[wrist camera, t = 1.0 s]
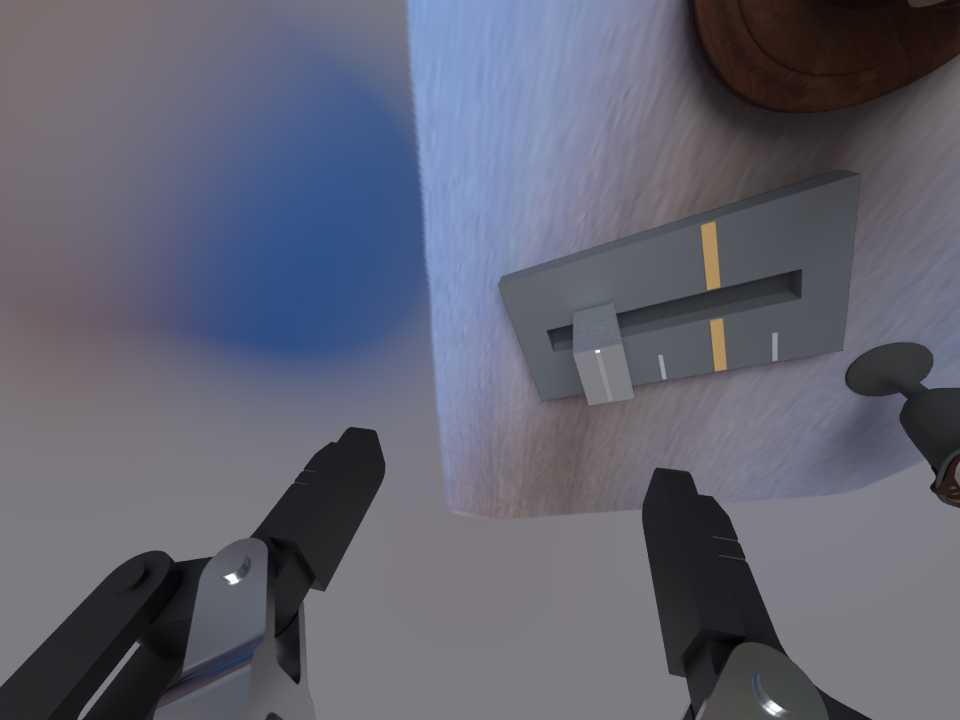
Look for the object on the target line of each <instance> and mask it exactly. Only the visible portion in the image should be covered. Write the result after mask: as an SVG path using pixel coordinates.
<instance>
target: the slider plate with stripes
mask: <svg viewBox="0 0 960 720" xmlns="http://www.w3.org/2000/svg"><path fill="white" fill-rule="evenodd" d="M860 179H861V174H860V173H855V172H850V171H845V170H837V171H833V172H830V173H827V174H824V175H821V176H818V177H814V178H811V179H808V180H805V181H802V182H799V183H796V184H792V185H789V186H786V187H783V188H780V189H777V190H773V191H770V192H767V193H764V194H761V195H758V196H754V197H751V198H748V199H745V200H742V201H739V202H736V203H732V204H729V205H726V206H723V207H720V208H717V209H713V210H710V211H707V212H704V213H701V214H698V215H694V216H691V217H688V218H685V219H682V220H679V221H676V222H672V223H669V224H666V225H663V226H660V227H657V228H653V229H650V230H647V231H644V232H641V233H638V234H634V235H631V236H628V237H625V238H622V239H619V240H615V241H612V242H609V243H606V244H603V245H600V246H597V247H593V248H590V249H587V250H584V251H581V252H578V253H574V254H571V255H568V256H565V257H562V258H559V259H555V260H552V261H549V262H546V263H543V264H540V265H537V266H533V267H530V268H527V269H524V270H521V271H518V272H514V273H511V274H508V275H505V276H502V277H501V280H500V282H499V284H498V287H499V290H500V293H501V295H502V298H503V300H504V303H505V305H506V308H507V311H508V313H509V316H510V318H511V321H512V324H513V326H514V329H515V331H516V334H517V337H518V339H519V342H520V344H521V347H522V350H523V352H524V355H525V357H526V360H527V362H528V365H529V368H530V370H531V373H532V375H533V378H534V381H535V383H536V386H537V388H538V391H539V394H540V396H541V399H542V401H544V400H550V399H556V398H562V397H568V396H575V395H581V394H585V391H584V388H583V385H582V381H581V378H580V375H579V372H578V369H577V365H576V362H575V359H574V356H573V313H575V312H579V311H583V310H587V309H591V308H594V307H598V306H602V305H606V304H610V303H614V307H615V311H616V316H617V320H618V324H619V329H620V333H621V337H622V342H623V346H624V350H625V355H626V360H627V364H628V369H629V374H630V378H631V383H632V386H635V385H641V384H647V383H653V382H659V381H665V380H671V379H677V378H683V377H689V376H695V375H701V374H707V373H713V372H719V371H725V370H731V369H737V368H743V367H749V366H755V365H761V364H767V363H773V362H779V361H785V360H791V359H797V358H803V357H809V356H815V355H821V354H827V353H833V352H839V351H843V345H844V336H845V326H846V316H847V306H848V297H849V287H850V277H851V267H852V258H853V248H854V238H855V228H856V218H857V209H858V199H859V189H860Z"/></svg>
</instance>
